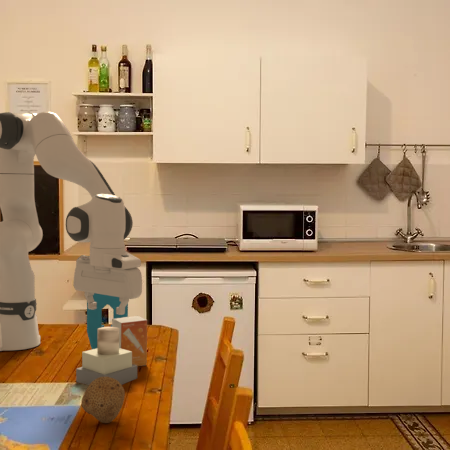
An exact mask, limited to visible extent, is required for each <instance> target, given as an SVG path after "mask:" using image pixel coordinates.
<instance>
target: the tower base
mask: <svg viewBox="0 0 450 450" xmlns="http://www.w3.org/2000/svg"><path fill="white" fill-rule="evenodd" d="M75 370H76V371H75V372H76V376H75V382H76V383H78V384H79V383H80V384H84V385H87V386H89V385H90V383H91V382H92V381H94V380H95V379H97V378H99V377H111V378H114V379H116V380H117V381H119V382H120V384H121V385H122V386H123V385H125V384H127V383H129V382H132V381H134V380H136V379H138V366H137V365H133V364H132V367H129V368H126V369H122V370H119V371H115V372H112V373H108V374H105V375H104V374H101V373H98V372H95V371H92V370H89V369H86V368H83V367H82V366H81V367H77V368H75Z"/></svg>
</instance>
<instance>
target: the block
mask: <svg viewBox="0 0 450 450" xmlns="http://www.w3.org/2000/svg"><path fill="white" fill-rule="evenodd" d="M92 296H93V299H94V302H97V305H96V306H97V308H96V309H94V310H92V309H88V302H87V301H86V333H87V337H88V340H89V344H90V348H91V350H92V349H96V348H97V340H98V328H101V327H105V325H104V324H102V322H103V321H102V317H103V316H102V312H103V311H102V310H103V309H104V308H105V307H106V306H107V305H108V306H109V307H110V308H111V309H112V311H113V312H112V314H113V315H112V316H113V317H112V319H116V318H123V317H129V303H128V304H127V305H126V307H125V314H123V315H119V314H116V307H119V306H120V304H121V302H120V301H119V297H115V296H109V295H103V294H97V293H94V295H92ZM110 327H112V324H110Z"/></svg>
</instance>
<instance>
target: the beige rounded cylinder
mask: <svg viewBox="0 0 450 450" xmlns="http://www.w3.org/2000/svg"><path fill="white" fill-rule="evenodd" d="M97 353H98V354H101V355H114V354H117V353H119V328H117V327H111V326H104V327H101V328H98V340H97Z"/></svg>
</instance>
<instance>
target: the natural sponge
mask: <svg viewBox="0 0 450 450" xmlns="http://www.w3.org/2000/svg"><path fill="white" fill-rule="evenodd" d="M124 388H125V387H123V384H122V385H121V384H120V382H119V381H117V380H116V379H114V378H111V377H99V378H97V379H95V380H94V381H92V382H91V383H90V385H87V388H86V389H85V391H84V393H83V396H82V397H81V407H82V410H83V411H84V412H85V413H87V414H89V415H91V416H93V418H95V419H96V420H98V422H100V423H103V424H110V423H111V422H113V421H114V420H115V418H117V416H118V415H119V414H120V411H121V409H122V407H123V406H124V405H123V404H124V401H125V396H126V395H125V389H124Z"/></svg>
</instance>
